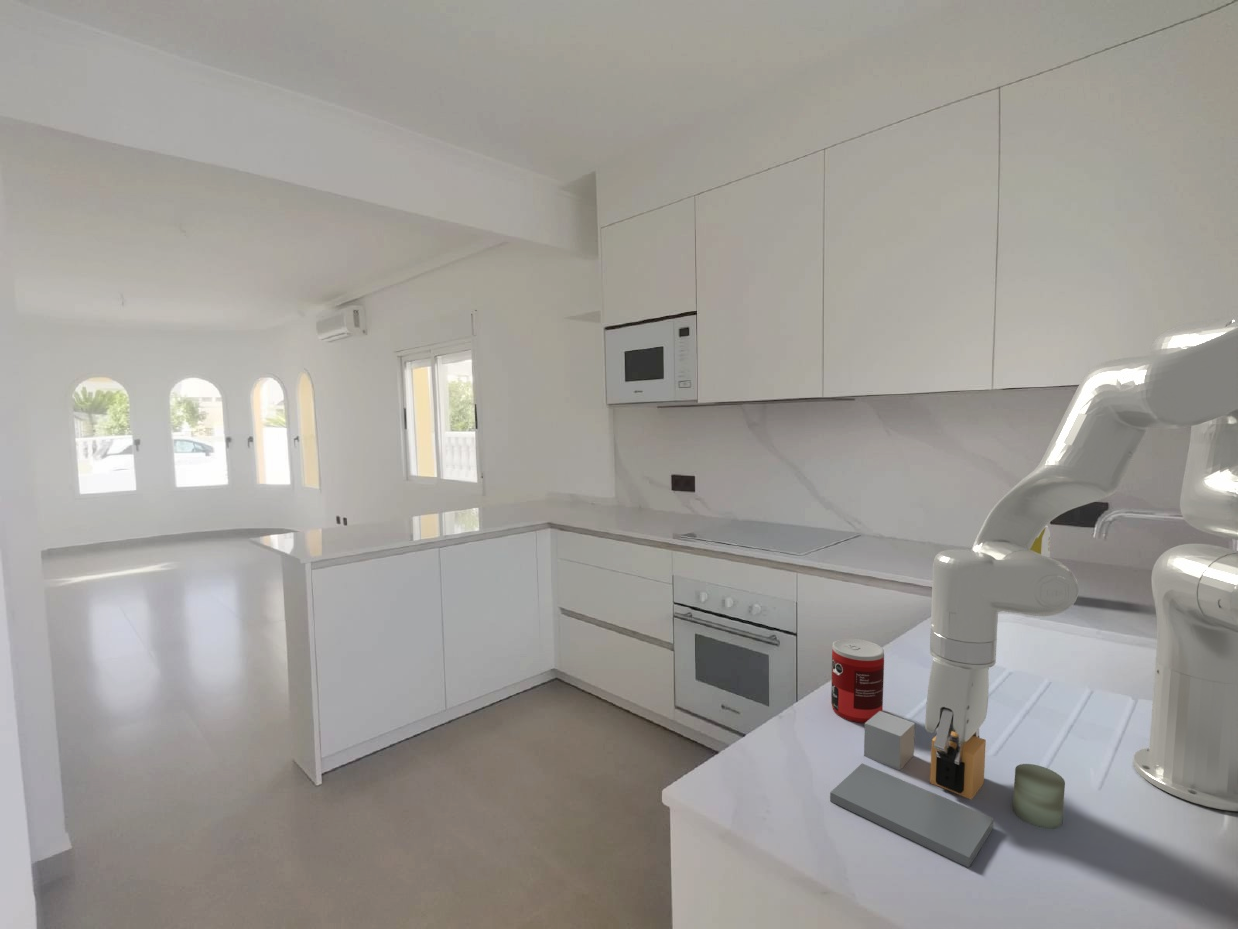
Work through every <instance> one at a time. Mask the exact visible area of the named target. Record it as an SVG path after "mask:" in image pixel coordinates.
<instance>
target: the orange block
mask: <svg viewBox="0 0 1238 929" xmlns="http://www.w3.org/2000/svg"><path fill="white" fill-rule="evenodd" d="M951 735H954V736H957V737H959V734H956V732H953V731H952V732H951ZM935 739H936V735H935V736H934V737H933V738H932V739H931V752H930V776H929V777H930V778H929V783H930V784H932V785H935V786H936V787H939V788H942V789H944V790H947V791H948V792H949V791H950V792H952V793H955V794H956V795H959V796H962V797H964V798H966V799H968V800H973V799H974V798H975V796H976V794H977V793H978V792H979V790H980V789H981V788H982V786H983V785H984V783H985V767H986V765H985V764H986V762H985V761H986V743H987V742H986V739H984V738H982V737H980V738H979V737H976V736H972V737H971V738H970V739H969V740H968V741H967V742H964V748H963V756H962V762H964V763H965V770H964V790H963V792H962V793H958V792H955V791H953V790H950V789H948V788H945V787H943V786H941V785H938V784H937V783H936V759H937V757H936V749H935V748H934V742H935ZM949 744H950V746H951V747H953V748H954V750H955V751H956V746H957V743H955V742H952V741H949Z"/></svg>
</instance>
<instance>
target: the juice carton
mask: <svg viewBox="0 0 1238 929" xmlns="http://www.w3.org/2000/svg"><path fill="white" fill-rule="evenodd" d="M1051 535H1052V534H1051V530H1050V527H1049V526H1048V524H1047V525H1046V526H1045V527H1044V528H1043V529H1042V531H1041V532H1040V533H1039V535H1038V536H1037V538H1036V539H1035V541H1034V543H1033V545H1032V547H1031V549H1030V550H1031V551H1034V552H1036V553H1039V554H1042V555H1044V556H1047V557H1050V558H1051V542H1052V541H1051V540H1052V539H1051Z"/></svg>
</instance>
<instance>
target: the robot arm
mask: <svg viewBox="0 0 1238 929" xmlns="http://www.w3.org/2000/svg"><path fill="white" fill-rule="evenodd" d="M1189 427H1191V428H1190V436H1189V437H1190V439H1189V447H1188V451H1187V456H1186V461H1185V462H1186V463H1185V469H1184V475H1183V480H1182V485H1181V490H1180V498H1179V511H1180V514H1181V516H1182V518H1183V520H1184V521H1185V522H1186V523H1187V524H1188V525H1189V526H1191V527H1192V528H1194V529H1196V530H1197V531H1201V532H1204V533H1206V534H1211V535H1214V536H1217V537H1222V538H1227V539H1231V540H1234V541H1238V315H1237V316H1236V315H1235V316H1230V317H1229V316H1228V317H1221V318H1215V319H1212V318H1211V319H1207V320H1200V321H1195V322H1189V323H1185V324H1182V325H1178V326H1175V327H1173V328H1170V329H1167V330H1166V331H1164V332H1163V333H1161V334H1160V335H1158V336H1157V337H1156V338H1155V340H1154V341H1153V342H1152V345H1151V347H1150V350H1149V355H1143V356H1132V357H1124V358H1117V359H1112V360H1111V359H1110V360H1108V361H1104V362H1101V363H1099V364H1097V365H1095V366H1093V367H1092V368H1091V369H1090V370H1088V372H1087V373H1086V374H1085V375H1084V376H1083V377H1082V379H1081V381H1080V382H1079V384H1078V387H1077V389H1076V391H1075V392H1074V394H1073V396H1072V399H1071V400H1070V402H1069V404H1068V406H1067V408H1066V410H1065V412H1064V414H1063V416H1062V418H1061V420H1060V422H1059V424H1058V426H1057V428H1056V430H1055V432H1054V435H1053V436H1052V438H1051V439H1050V440H1051V441H1050V442H1049V444H1048V446H1047V449H1046V451H1045V453H1044V454H1043V455H1042V456H1043V457H1042V458H1041V461H1040V462H1039V464H1038V465H1037V466H1036V468H1034V469H1033V470H1032V471H1031V472H1030V473H1029V474H1028V475H1026V476H1025V477H1024V478H1022V479H1021V480H1020V481H1018V483H1016V484H1015V485H1014V486H1013V487H1012V488H1011V489H1010V490H1009V491H1007V493H1006V494H1004V496H1002V498H1000V499H999V500H998V502H997V503H995V505H994V506H993V507H992V508H991V510H990V511H989V513H988V514H987V515H986V517H985V519H984V521H983V523H982V525H981V527H980V529H979V531H978V533H977V534H976V537H975V540H974V542H973V544H972V547H971V549H970V550H969V549H958V548H957V549H955V548H954V549H953V548H952V549H946V550H942V551H939V552H938V553H937V554H936V555H935V556H934V559H933V564H932V579H931V580H932V584H931V586H932V587H931V611H930V612H931V613H930V614H931V615H930V639H929V643H930V644H929V654H930V655H931V656H932V657H933V660H932V663H931V667H930V672H929V673H930V674H929V680H928V687H927V688H928V689H927V695H926V696H927V697H926V708H925V720H924V721H925V722H924V723H925V724H924V728H925V730H926V732H927V733H930V734H931V733H934V732H936V730H937V732H936V735H935V736H936V739H935V742H934V748H935V749H936V757H937V759H936V783H937V784H938V785H941V786H943V787H945V788H948V789H950V790H953V791H955V792H958V793H962V792H963V790H964V770H965V763H964V762H962V756H963V748H964V742H967V741H968V740H969V739H970V738H971V737H972V736H976V737H979V738H981V737H980V728H981V726H982V725H983V724H984V722H985V721H986V718H987V714H988V706H989V690H990V687H989V685H990V684H989V680H990V679H989V674H990V672H989V669H990V668H993V667H994V666H995V665H996V663H997V662H996V661H997V647H998V646H997V642H998V641H997V640H998V638H997V637H998V636H997V635H998V634H997V633H998V622H999V621H998V620H999V613H1000V612H1004V613H1005V612H1006V613H1012V614H1020V615H1025V616H1031V617H1050V616H1051V617H1052V616H1055V615H1059V614H1062V613H1064V612H1066V611H1067V610H1069V609H1070V608H1071V607H1072V606H1073V605H1074V604H1075V602H1076V601H1077V599H1078V596H1079V593H1080V587H1079V582H1078V580H1077V578H1076V576H1075V574H1074V573H1073V571H1072V570H1071V569H1070V568H1069V567H1067V566H1066V565H1065V564H1064V563H1062V562H1060V561H1059V560H1056V559H1054V558H1052V557H1051V556H1050V557H1047V556H1044V555H1042V554H1039V553H1036V552H1034V551H1031V550H1030V549H1031V547H1032V545H1033V543H1034V541H1035V539H1036V538H1037V536H1038V535H1039V533H1040V532H1041V531H1042V529H1043V528H1044V527H1045V526H1046V525H1047V526H1048V524H1049V523H1050V522H1052V521H1053V520H1055V519H1056V518H1057V517H1059V516H1060V515H1063V514H1065V513H1066V512H1068V511H1071V510H1073V509H1076V508H1079V507H1082V506H1085V505H1089V504H1092V503H1095V502H1097V501H1100V500H1103V499H1106V498H1109V497H1110V496H1111V495H1113V494H1115V493H1116V492H1117V490H1118V489H1119V487H1120V485H1121V483H1122V481H1123V479H1124V477H1125V476H1126V473H1127V472H1128V469H1129V467H1130V464H1131V463H1132V461H1133V459H1134V457H1135V455H1136V453H1137V452H1138V450H1139V448H1140V446H1141V443H1142V441H1143V440H1144V438H1145V437H1146V434H1147V433H1148V431H1149V429H1150V428H1152V429H1184V428H1189ZM1150 579H1151V591H1152V597H1153V602H1154V606H1155V607H1154V608H1155V613H1156V614H1155V616H1156V624H1157V625H1156V651H1155V652H1156V653H1155V661H1154V662H1155V663H1154V679H1153V680H1154V681H1153V693H1152V708H1151V718H1150V719H1151V721H1150V733H1149V734H1150V736H1149V747H1146V748H1142V749H1139V750H1137V751H1136V752H1135V753H1134V754H1133V759H1132V761H1133V762H1132V764H1133V767H1134V769H1135V770H1136V772H1137V773H1138V774H1139V775H1140V776H1141V777H1142V778H1144V780H1146V781H1147V782H1149V783H1150V784H1151V785H1153V786H1154V787H1156V788H1159V789H1160V790H1162V791H1164V792H1166V793H1169V794H1170V795H1173V796H1174V797H1177V798H1180V799H1182V800H1185V801H1186V802H1187V801H1188V802H1191V803H1193V804H1197V805H1199V806H1203V807H1207V808H1211V809H1217V810H1222V811H1228V812H1238V550H1236V549H1232V548H1227V547H1223V546H1220V545H1213V544H1208V543H1184V544H1180V545H1176V546H1174V547H1171V548H1169V549H1167V550H1165V551H1164V552H1162V554H1161V555H1160V556H1158V558H1157V559H1156V561H1155V563H1154V565H1153V567H1152V571H1151V578H1150ZM952 731H953V732H956V734H959V737H957V736H954V735H951V732H952ZM949 741H952V742H955V743H957V746H956V751H955V750H954V748H953V747H951V746H950V744H949Z"/></svg>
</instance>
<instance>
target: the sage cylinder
mask: <svg viewBox="0 0 1238 929" xmlns="http://www.w3.org/2000/svg"><path fill="white" fill-rule="evenodd" d="M1013 784H1014V787H1013V800H1012V809H1013V812H1014V813H1015V815H1017V817H1018V818H1020V819H1022V820H1023V821H1024V822H1026V823H1029V824H1031V825H1033V826H1037V827H1039V828H1043V829H1044V828H1045V829H1056V828H1059V827H1061V826H1062V824H1063V818H1064V817H1063V816H1064V803H1065V802H1064V801H1065V789H1066V788H1065V787H1066V781H1065V779H1064V778H1063V777H1062V776H1061V775H1060V774H1058V773H1057V772H1055V771H1054V770H1051V769H1050V768H1047V767H1044V766H1041V765H1039V764H1032V763H1021V764H1018V765H1016V767H1015V770H1014V783H1013Z"/></svg>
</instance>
